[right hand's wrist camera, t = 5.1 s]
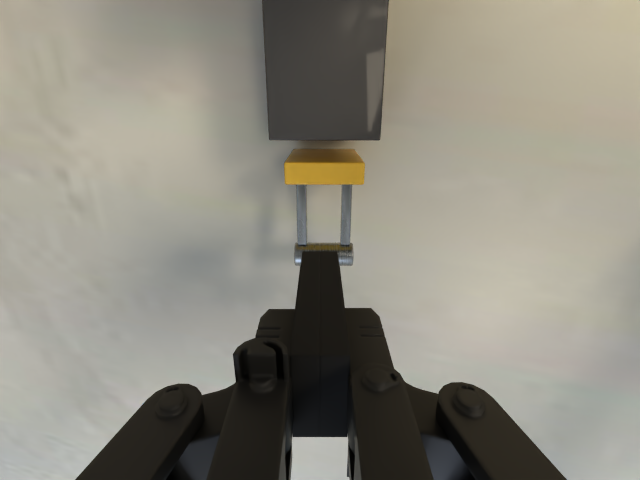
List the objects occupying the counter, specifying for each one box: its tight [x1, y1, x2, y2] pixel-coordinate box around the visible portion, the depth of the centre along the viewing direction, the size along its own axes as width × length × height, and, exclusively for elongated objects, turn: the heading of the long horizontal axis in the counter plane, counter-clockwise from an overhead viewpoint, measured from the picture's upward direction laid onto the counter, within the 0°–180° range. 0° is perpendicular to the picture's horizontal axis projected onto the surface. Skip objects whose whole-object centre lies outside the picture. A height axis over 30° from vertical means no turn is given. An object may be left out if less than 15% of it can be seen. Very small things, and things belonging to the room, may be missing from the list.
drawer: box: [284, 149, 365, 266], centre depth 20 cm, size 20×4×6 cm, turn 0°
